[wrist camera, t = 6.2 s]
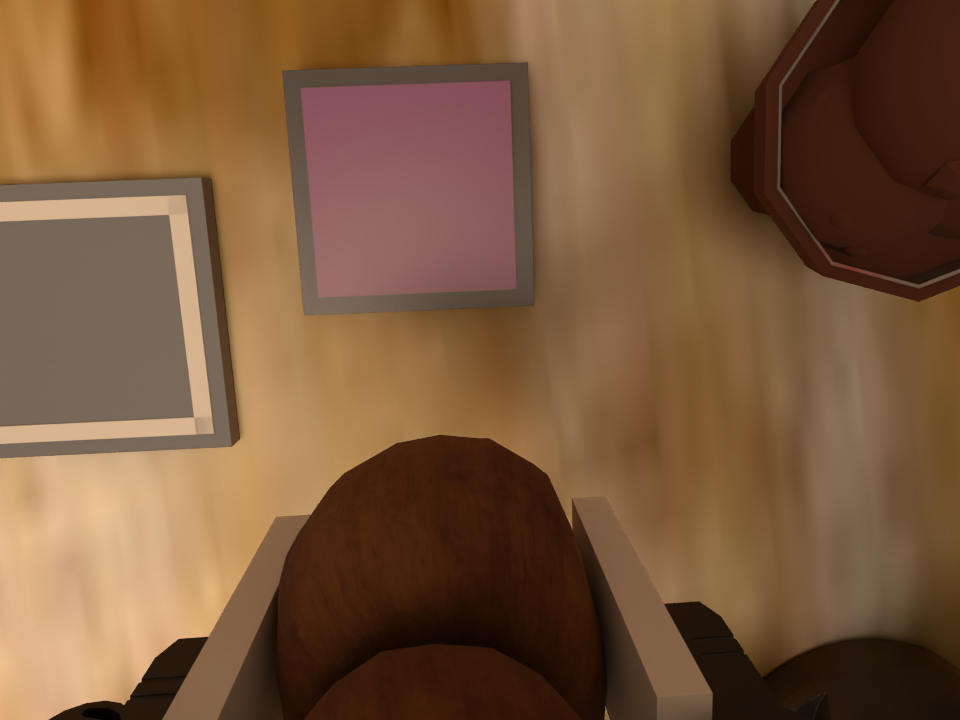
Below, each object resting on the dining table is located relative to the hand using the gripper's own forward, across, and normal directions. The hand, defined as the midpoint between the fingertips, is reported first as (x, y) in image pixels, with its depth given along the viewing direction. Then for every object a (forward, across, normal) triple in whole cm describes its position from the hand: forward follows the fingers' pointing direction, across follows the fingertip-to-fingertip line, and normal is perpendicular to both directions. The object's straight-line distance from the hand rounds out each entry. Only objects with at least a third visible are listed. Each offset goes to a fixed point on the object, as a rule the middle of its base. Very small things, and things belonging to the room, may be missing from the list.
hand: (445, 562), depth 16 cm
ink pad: (+18, +1, -9) cm, 20 cm away
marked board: (+18, +16, -4) cm, 24 cm away
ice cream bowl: (+18, -16, -10) cm, 26 cm away
